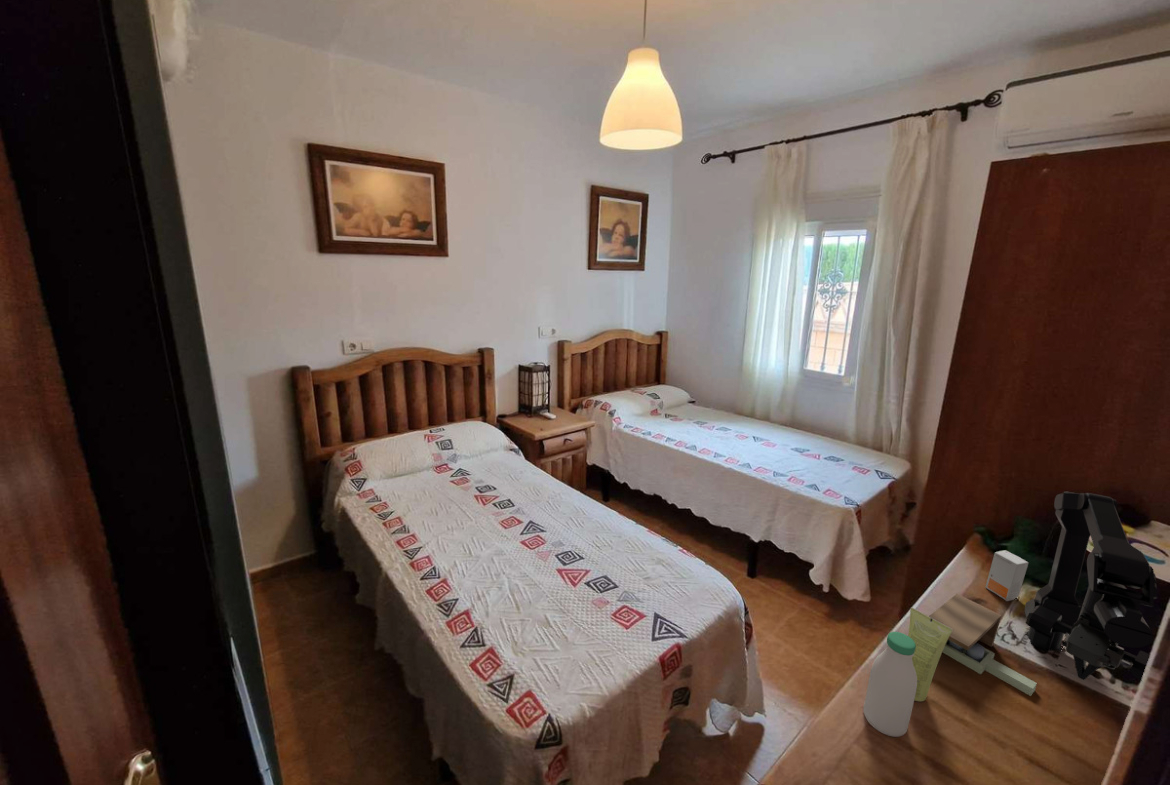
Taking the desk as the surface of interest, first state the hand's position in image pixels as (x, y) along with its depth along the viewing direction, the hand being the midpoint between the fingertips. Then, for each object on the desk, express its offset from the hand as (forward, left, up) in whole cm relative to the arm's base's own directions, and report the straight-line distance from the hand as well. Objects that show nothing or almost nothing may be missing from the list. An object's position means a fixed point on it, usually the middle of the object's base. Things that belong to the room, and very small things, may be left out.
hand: (1081, 677), depth 94 cm
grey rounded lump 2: (0, -16, -9) cm, 19 cm away
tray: (0, -14, -10) cm, 17 cm away
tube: (+21, -20, -10) cm, 30 cm away
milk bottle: (+33, -20, -10) cm, 40 cm away
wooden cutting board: (0, -20, -10) cm, 22 cm away
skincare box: (-36, -22, -10) cm, 44 cm away
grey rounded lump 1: (0, -20, -9) cm, 22 cm away
